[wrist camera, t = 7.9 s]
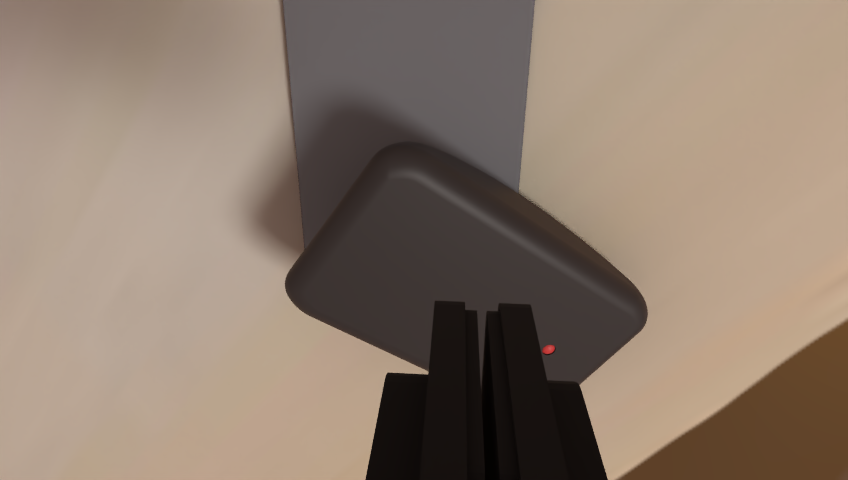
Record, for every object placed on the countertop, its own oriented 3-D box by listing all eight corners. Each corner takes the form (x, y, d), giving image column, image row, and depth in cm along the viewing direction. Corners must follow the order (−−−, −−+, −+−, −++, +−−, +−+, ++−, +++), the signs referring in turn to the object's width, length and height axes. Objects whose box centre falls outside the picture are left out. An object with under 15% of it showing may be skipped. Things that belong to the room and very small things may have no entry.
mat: (538, -56, 23) (539, -57, 23) (509, 279, 30) (510, 282, 30) (280, -58, 24) (278, -59, 24) (308, 272, 31) (306, 275, 30)
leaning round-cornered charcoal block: (388, 99, 24) (281, 251, 28) (394, 139, 21) (269, 309, 24) (629, 264, 31) (517, 370, 34) (669, 318, 27) (537, 431, 30)
